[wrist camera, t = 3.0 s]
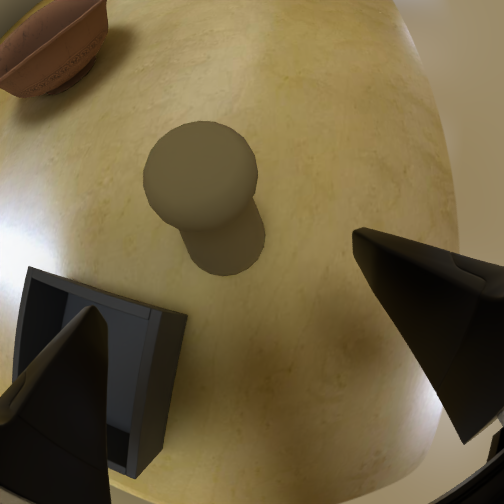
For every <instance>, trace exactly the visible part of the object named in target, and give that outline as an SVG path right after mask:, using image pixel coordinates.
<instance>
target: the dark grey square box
mask: <svg viewBox="0 0 504 504" xmlns="http://www.w3.org/2000/svg"><path fill="white" fill-rule="evenodd" d="M91 305H94V306H96V307H97V308H98V310H99V311H100V313H101V314H102V316H103V317H104V319H105V320H106V322H107V324H108V382H107V410H106V435H107V462H108V468H110V469H112V470H115V471H117V472H119V473H121V474H123V475H126V476H128V477H130V478H133V479H136V478H137V477H138V476H139V475H140V474H141V473H142V472H143V470H144V469H145V468H146V467H147V466H148V465H149V464H150V463H151V461H152V460H153V459H154V458H155V457H156V456H157V455H158V454H159V452H160V451H161V450H162V448H163V442H164V436H165V430H166V424H167V418H168V412H169V406H170V401H171V395H172V390H173V385H174V379H175V374H176V369H177V364H178V359H179V354H180V350H181V345H182V340H183V335H184V331H185V326H186V322H187V317H188V315H186V314H183V313H179V312H175V311H171V310H168V309H164V308H160V307H157V306H153V305H150V304H146V303H143V302H139V301H136V300H132V299H129V298H126V297H123V296H119V295H116V294H113V293H110V292H107V291H104V290H100V289H97V288H94V287H91V286H88V285H85V284H83V283H80V282H77V281H74V280H71V279H68V278H65V277H61V276H58V275H55V274H52V273H49V272H45V271H42V270H39V269H36V268H33V267H30V266H28V270H27V274H26V278H25V283H24V288H23V292H22V298H21V303H20V309H19V315H18V321H17V328H16V336H15V346H14V357H13V374H12V384H13V382H14V381H15V380H16V379H17V378H18V377H19V376H20V375H21V373H22V372H23V371H24V370H25V369H26V368H27V367H28V366H29V364H30V363H31V362H32V361H33V360H34V359H35V358H36V357H37V356H38V355H39V353H40V352H41V351H42V350H43V349H44V348H45V347H46V346H47V345H48V344H49V343H50V342H51V341H52V340H53V338H54V337H55V336H56V335H57V334H58V333H59V332H60V331H61V330H62V329H63V328H64V327H65V326H66V325H67V324H68V323H69V322H70V321H71V320H72V319H73V318H74V317H75V316H76V315H77V314H78V313H79V312H80V311H81V310H82V309H83V308H84V307H87V306H91Z"/></svg>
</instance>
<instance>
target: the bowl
mask: <svg viewBox="0 0 504 504" xmlns="http://www.w3.org/2000/svg"><path fill="white" fill-rule="evenodd" d="M106 2H107V0H54V1H53V2H51V3H49V4H48V5H46V6H44V7H43V8H41V9H40V10H38V11H37V12H35V13H34V14H32V15H31V16H30V17H29V18H28V19H27V20H25V21H24V22H23V23H22V24H21V25H20V26H19V27H17V28H16V29H15V30H14V31H13V32H12V33H11V34H10V35H9V36H8V38H7V39H6V40H5V41H4V42H3V43H2V44H1V45H0V88H1V89H3V90H5V91H7V92H9V93H10V94H12V95H14V96H16V97H19V98H28V97H35V96H40V95H43V94H45V93H47V94H48V95H53V94H58V93H61V92H63V91H65V90H67V89H69V88H70V87H72V86H73V85H75V84H76V83H77V82H78V81H80V80H81V79H82V78H83V77H84V76H85V75H86V74H87V73H88V72H89V71H90V69H91V68H92V67H93V65H94V62H95V60H96V54H97V52H98V51H99V49H100V48H101V46H102V44H103V42H104V40H105V38H106V36H107V33H108V19H107V11H106Z"/></svg>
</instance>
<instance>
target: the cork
mask: <svg viewBox="0 0 504 504" xmlns="http://www.w3.org/2000/svg"><path fill="white" fill-rule="evenodd" d="M257 179H258V170H257V164H256V159H255V155H254V153H253V151H252V150H251V148H250V146H249V145H248V143H247V142H246V140H245V139H244V137H242V136H241V135H240V134H238V133H237V132H236V131H235V130H233V129H232V128H230V127H228V126H225V125H222V124H219V123H216V122H210V121H197V122H191V123H187V124H183V125H181V126H179V127H177V128H175V129H173V130H171V131H169V132H168V133H167V134H166V135H164V136H163V137H162V138H161V139H159V140H158V142H157V143H156V144H155V146H154V147H153V148H152V150H151V151H150V154H149V156H148V159H147V162H146V164H145V167H144V170H143V187H144V190H145V193H146V196H147V199H148V202H149V204H150V206H151V207H152V209H153V210H154V211H155V212H156V213H157V214H158V215H159V216H160V218H161V219H162V220H163V221H164V222H166V223H168V224H170V225H172V226H173V227H175V228H177V229H179V231H180V233H181V236H182V238H183V241H184V243H185V245H186V248H187V250H188V252H189V254H190V257H191V259H192V260H193V261H194V262H195V263H196V264H197V265H198V267H199V268H201V269H203V270H205V271H206V272H208V273H210V274H214V275H220V276H227V275H234V274H238V273H240V272H242V271H244V270H246V269H248V268H249V267H250V266H251V265H252V264H253V263H254V262H255V261H256V260H257V259H258V257H259V256H260V254H261V252H262V250H263V248H264V242H265V230H264V225H263V222H262V219H261V217H260V214H259V212H258V209H257V207H256V204H255V202H254V199H253V196H254V194H255V190H256V184H257Z"/></svg>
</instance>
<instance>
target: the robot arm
mask: <svg viewBox="0 0 504 504" xmlns="http://www.w3.org/2000/svg"><path fill="white" fill-rule="evenodd" d="M352 243H353V255H354V258H355V260H356V262H357V263H358V265H359V267H360V269H361V271H362V273H363V274H364V276H365V278H366V280H367V282H368V284H369V286H370V287H371V289H372V291H373V293H374V294H375V296H376V297H377V299H378V300H379V302H380V303H381V305H382V306H383V308H384V309H385V311H386V312H387V314H388V315H389V317H390V318H391V320H392V321H393V323H394V324H395V326H396V327H397V329H398V330H399V332H400V334H401V335H402V337H403V338H404V340H405V341H406V343H407V345H408V346H409V348H410V349H411V351H412V353H413V354H414V356H415V358H416V359H417V361H418V363H419V364H420V366H421V368H422V369H423V371H424V373H425V374H426V376H427V378H428V379H429V381H430V383H431V385H432V386H433V388H434V390H435V392H436V394H437V396H438V397H439V399H440V401H441V403H442V405H443V407H444V408H445V410H446V412H447V414H448V416H449V418H450V420H451V422H452V424H453V425H454V427H455V429H456V431H457V433H458V435H459V437H460V439H461V441H462V443H463V444H464V445H465V444H466V443H467V442H469V441H470V440H471V439H473V438H474V437H475V436H477V435H478V434H479V433H481V432H482V431H483V430H484V429H485V428H487V427H488V426H489V425H490V424H492V423H493V422H494V421H495V420H496V419H497V418H498V419H499V421H500V422H501V424H502V426H503V428H501V429H500V430H499V431H498V432H497V433H496V434H495V435H493V438H492V442H491V447H490V451H489V455H488V459H487V463H486V464H485V465H484V466H483V467H481V468H480V469H479V470H478V471H476V472H475V473H474V474H472V475H471V476H470V477H468V478H467V479H466V480H464V481H463V482H462V483H460V484H458V485H457V486H456V487H454V488H453V489H451V490H450V491H448V492H447V493H445V494H444V495H442V496H440V497H439V498H437V499H435V500H434V501H432V502H431V503H429V504H504V267H503V266H499V265H496V264H492V263H488V262H484V261H480V260H477V259H473V258H470V257H466V256H463V255H460V254H457V253H453V252H451V253H450V251H447V250H444V249H440V248H437V247H434V246H430V245H427V244H423V243H420V242H416V241H413V240H409V239H406V238H402V237H399V236H395V235H392V234H388V233H384V232H380V231H377V230H373V229H369V228H365V227H362V228H359V229H356V230H354V231H353V233H352ZM107 382H108V324H107V322H106V320H105V319H104V317H103V316H102V314H101V313H100V311H99V310H98V308H97V307H96V306H94V305H91V306H87V307H84V308H83V309H82V310H81V311H80V312H79V313H78V314H77V315H76V316H75V317H74V318H73V319H72V320H71V321H70V322H69V323H68V324H67V325H66V326H65V327H64V328H63V329H62V330H61V331H60V332H59V333H58V334H57V335H56V336H55V337H54V338H53V340H52V341H51V342H50V343H49V344H48V345H47V346H46V347H45V348H44V349H43V350H42V351H41V352H40V353H39V355H38V356H37V357H36V358H35V359H34V360H33V361H32V362H31V363H30V364H29V366H28V367H27V368H26V369H25V370H24V371H23V372H22V373H21V375H20V376H19V377H18V378H17V379H16V380H15V381H14V382H13V384H12V385H11V386H10V387H9V388H8V389H7V390H6V391H5V392H4V393H3V394H2V396H1V397H0V504H111V496H110V487H109V475H108V462H107V435H106V410H107Z"/></svg>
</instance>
